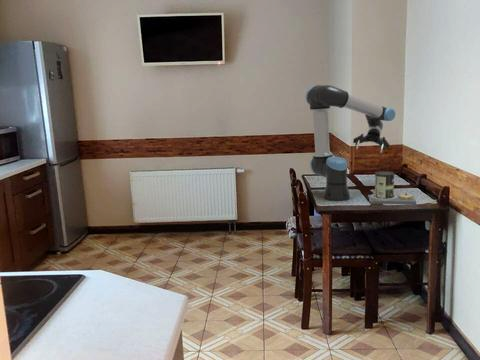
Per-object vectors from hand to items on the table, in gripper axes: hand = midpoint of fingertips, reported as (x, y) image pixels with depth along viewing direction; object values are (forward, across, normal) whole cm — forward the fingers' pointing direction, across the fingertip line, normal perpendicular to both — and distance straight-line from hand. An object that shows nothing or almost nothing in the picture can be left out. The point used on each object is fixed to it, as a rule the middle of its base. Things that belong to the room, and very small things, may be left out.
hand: (369, 149), depth 264 cm
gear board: (+13, -17, -23) cm, 32 cm away
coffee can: (+14, -13, -22) cm, 29 cm away
